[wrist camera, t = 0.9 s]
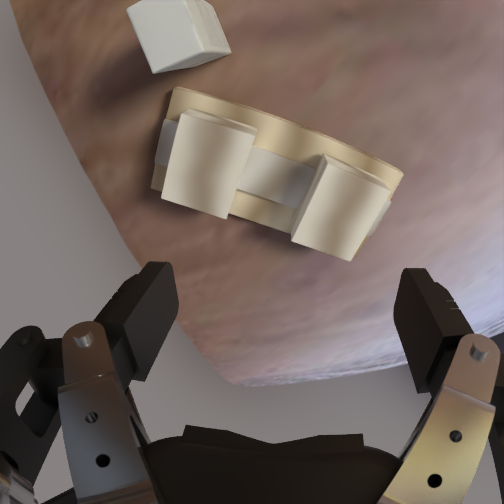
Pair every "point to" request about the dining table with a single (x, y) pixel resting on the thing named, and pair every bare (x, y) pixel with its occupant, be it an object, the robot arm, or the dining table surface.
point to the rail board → (270, 173)
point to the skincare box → (178, 33)
